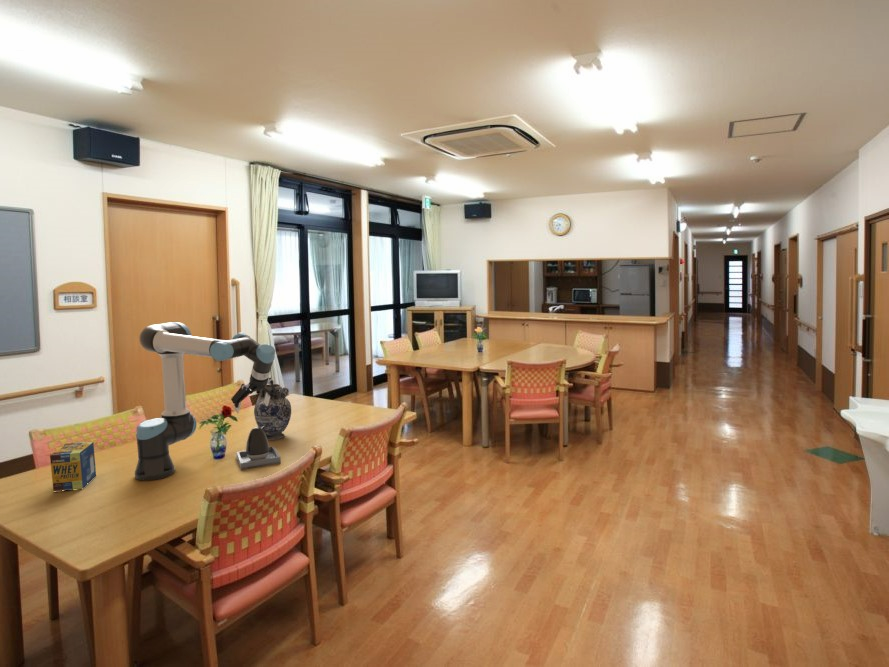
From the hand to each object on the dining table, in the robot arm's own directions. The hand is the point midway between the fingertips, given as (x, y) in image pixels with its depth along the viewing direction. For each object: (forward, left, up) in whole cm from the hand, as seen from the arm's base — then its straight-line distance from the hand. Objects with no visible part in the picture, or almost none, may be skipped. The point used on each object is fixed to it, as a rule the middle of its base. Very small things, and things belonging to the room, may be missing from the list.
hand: (251, 407), depth 238 cm
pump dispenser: (+1, -2, -25) cm, 25 cm away
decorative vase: (+34, -15, -26) cm, 45 cm away
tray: (+1, -2, -26) cm, 26 cm away
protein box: (+9, +69, -26) cm, 74 cm away
